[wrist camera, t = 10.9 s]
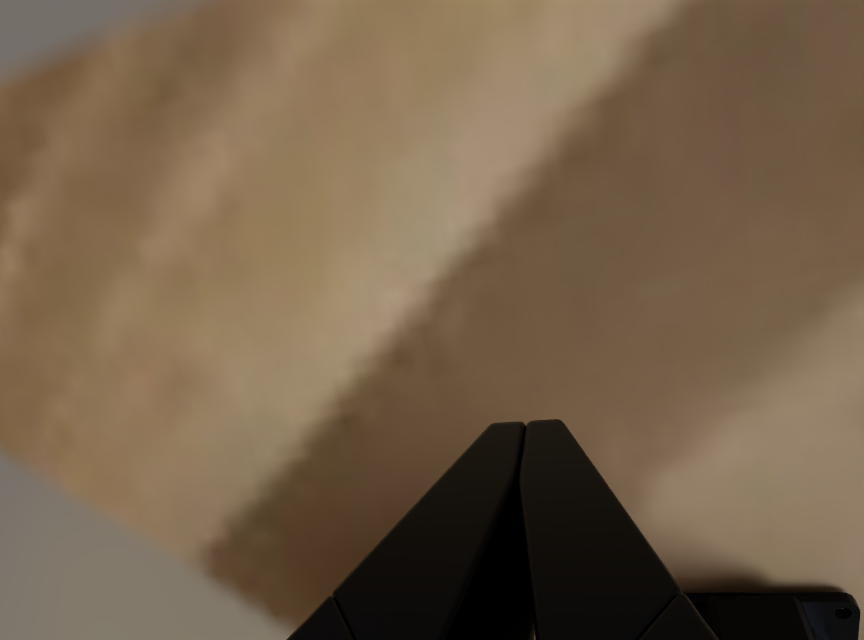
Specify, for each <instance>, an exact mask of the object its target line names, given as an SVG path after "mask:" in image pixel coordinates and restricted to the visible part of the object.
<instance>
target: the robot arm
mask: <svg viewBox="0 0 864 640" xmlns="http://www.w3.org/2000/svg"><path fill="white" fill-rule="evenodd" d="M839 608H843V609H839ZM859 622H860V609H859V607H858V605H857V602H856V600H855V599H854V597H853V596H852V595H849V594H847V593H842V592H802V593H683V592H682V589H681V588H680V586H679V585H678V584H677V582H676V581H675V579H674V578H673V576H672V575H671V574H670V572H669V571H668V569H667V568H666V567H665V565H664V564H663V562H662V561H661V560H660V558H659V557H658V555H657V554H656V552H655V551H654V550H653V548H652V547H651V545H650V544H649V543H648V541H647V540H646V538H645V537H644V536H643V534H642V533H641V531H640V530H639V528H638V527H637V526H636V524H635V523H634V521H633V520H632V519H631V517H630V516H629V514H628V513H627V512H626V510H625V509H624V507H623V506H622V504H621V503H620V502H619V500H618V499H617V497H616V496H615V495H614V493H613V492H612V490H611V489H610V488H609V486H608V485H607V483H606V482H605V480H604V479H603V478H602V476H601V475H600V473H599V472H598V471H597V469H596V468H595V466H594V465H593V464H592V462H591V461H590V459H589V458H588V456H587V455H586V454H585V452H584V451H583V449H582V448H581V447H580V445H579V444H578V442H577V441H576V440H575V438H574V437H573V435H572V434H571V432H570V431H569V430H568V428H567V427H566V425H565V424H564V423H563V422H562V421H561V420H559V419H553V420H537V421H530V422H529V423H528V424H527V426H526V425H525V424H524V423H523V422H503V423H493V424H491V425H490V426H488V427H487V429H486V430H485V431H484V432H483V433H482V434H481V435H480V436H479V437H478V438H477V439H476V440H475V441H474V442H473V443H472V444H471V446H470V447H469V448H468V449H467V450H466V451H465V452H464V453H463V454H462V455H461V456H460V457H459V458H458V459H457V460H456V461H455V463H454V464H453V465H452V466H451V467H450V468H449V469H448V470H447V471H446V472H445V473H444V474H443V475H442V476H441V477H440V478H439V480H438V481H437V482H436V483H435V484H434V485H433V486H432V487H431V488H430V489H429V490H428V491H427V492H426V493H425V494H424V495H423V497H422V498H421V499H420V500H419V501H418V502H417V503H416V504H415V505H414V506H413V507H412V508H411V509H410V510H409V511H408V512H407V514H406V515H405V516H404V517H403V518H402V519H401V520H400V521H399V522H398V523H397V524H396V525H395V526H394V527H393V528H392V529H391V531H390V532H389V533H388V534H387V535H386V536H385V537H384V538H383V539H382V540H381V541H380V542H379V543H378V544H377V545H376V546H375V548H374V549H373V550H372V551H371V552H370V553H369V554H368V555H367V556H366V557H365V558H364V559H363V560H362V561H361V562H360V563H359V565H358V566H357V567H356V568H355V569H354V570H353V571H352V572H351V573H350V574H349V575H348V576H347V577H346V578H345V579H344V580H343V582H342V583H341V584H340V585H339V586H338V587H337V588H336V589H335V590H334V591H333V596H329V597H327V598H326V599H325V600H324V601H323V602H322V603H321V604H320V606H319V607H318V608H317V609H316V610H315V611H314V612H313V613H312V614H311V615H310V616H309V617H308V618H307V619H306V620H305V621H304V622H303V623H302V624H301V625H300V626H299V627H298V628H297V629H296V630H295V631H294V632H293V633H292V634H291V635H290V636H289V637H288V639H286V640H533V638H534V629H535V636H536V640H858V633H859Z"/></svg>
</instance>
